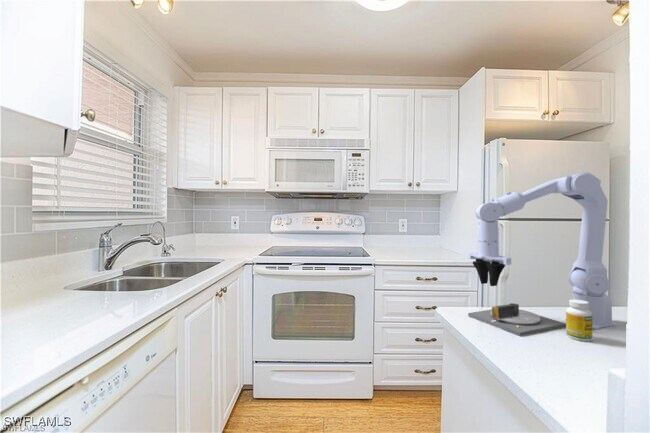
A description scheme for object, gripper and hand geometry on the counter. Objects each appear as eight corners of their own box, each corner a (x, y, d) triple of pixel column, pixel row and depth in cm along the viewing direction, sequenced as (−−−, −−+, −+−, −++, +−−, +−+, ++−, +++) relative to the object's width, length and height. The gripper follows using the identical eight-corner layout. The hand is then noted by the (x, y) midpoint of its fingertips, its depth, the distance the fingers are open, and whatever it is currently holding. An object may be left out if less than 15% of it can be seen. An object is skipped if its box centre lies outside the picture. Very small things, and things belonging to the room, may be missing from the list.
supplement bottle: (571, 332, 87) (570, 297, 86) (595, 338, 82) (595, 301, 82) (562, 336, 84) (562, 300, 83) (588, 343, 79) (587, 305, 79)
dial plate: (509, 309, 108) (509, 306, 108) (565, 326, 91) (565, 322, 91) (468, 316, 101) (468, 312, 101) (520, 336, 84) (519, 331, 84)
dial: (510, 309, 104) (510, 296, 104) (550, 321, 92) (550, 307, 92) (476, 314, 99) (476, 301, 99) (514, 328, 87) (514, 313, 87)
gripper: (460, 240, 105) (461, 281, 105) (498, 243, 91) (499, 290, 92) (477, 239, 108) (478, 279, 108) (516, 242, 94) (516, 288, 94)
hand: (488, 284), depth 100 cm, fingers open, 3 cm apart
